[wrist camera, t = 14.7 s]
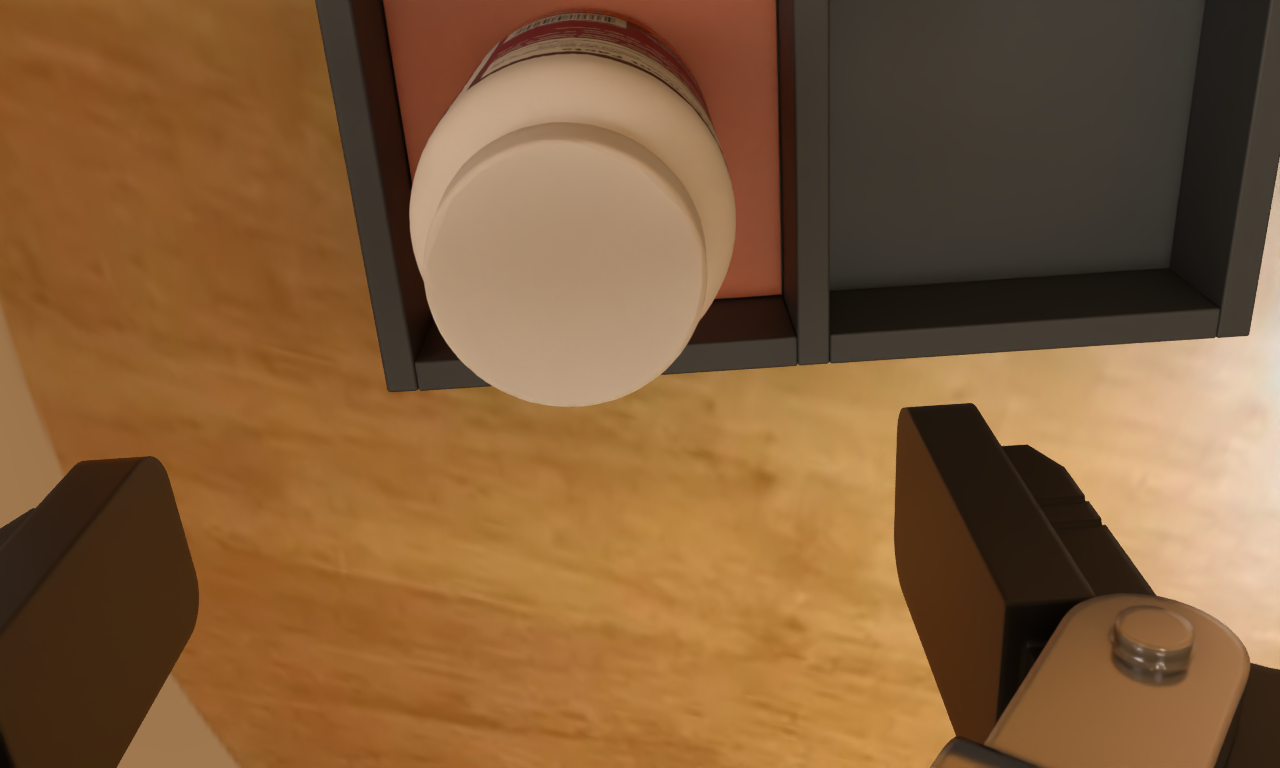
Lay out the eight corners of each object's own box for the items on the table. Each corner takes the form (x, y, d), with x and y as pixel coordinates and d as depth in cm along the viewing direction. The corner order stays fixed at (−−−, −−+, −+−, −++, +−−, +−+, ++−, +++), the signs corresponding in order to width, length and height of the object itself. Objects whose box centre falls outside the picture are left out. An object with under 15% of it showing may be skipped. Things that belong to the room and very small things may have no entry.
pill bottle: (593, 296, 30) (573, 515, 20) (413, 137, 28) (292, 292, 18) (761, 128, 28) (831, 278, 18) (579, -54, 26) (546, 2, 16)
